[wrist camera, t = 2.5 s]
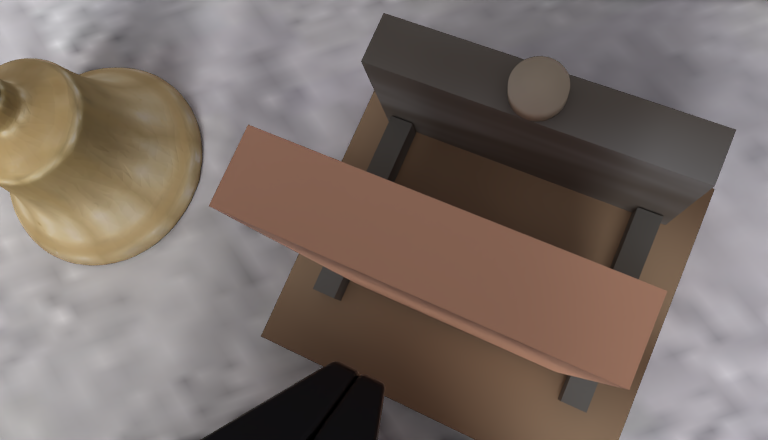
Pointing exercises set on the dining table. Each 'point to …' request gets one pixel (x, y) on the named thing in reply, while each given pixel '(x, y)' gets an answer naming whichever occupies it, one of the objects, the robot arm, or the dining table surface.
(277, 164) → the reddish brown rectangular bar
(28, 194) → the hand bell
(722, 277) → the dining table surface
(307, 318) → the switch base
